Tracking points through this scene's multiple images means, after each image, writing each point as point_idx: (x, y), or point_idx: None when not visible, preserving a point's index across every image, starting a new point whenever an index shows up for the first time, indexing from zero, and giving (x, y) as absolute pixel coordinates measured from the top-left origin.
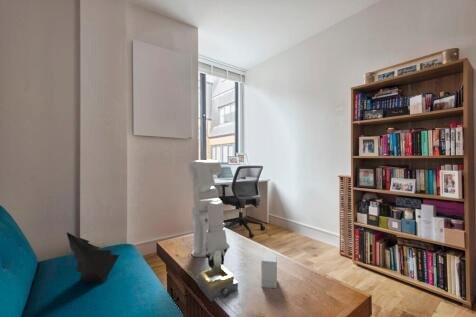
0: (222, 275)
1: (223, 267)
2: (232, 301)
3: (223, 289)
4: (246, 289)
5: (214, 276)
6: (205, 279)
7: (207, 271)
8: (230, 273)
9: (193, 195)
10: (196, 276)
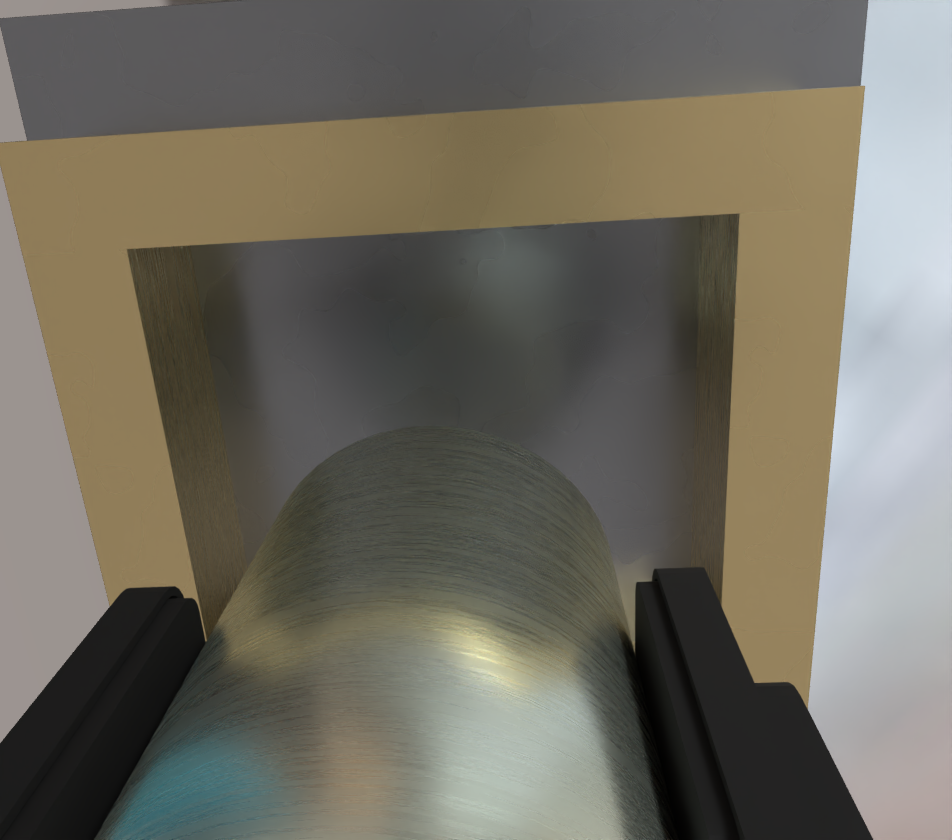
0: (660, 392)
1: (818, 299)
2: None
3: None
4: (889, 702)
5: (458, 326)
6: (109, 554)
7: (257, 238)
8: (787, 681)
9: None
10: (7, 36)
